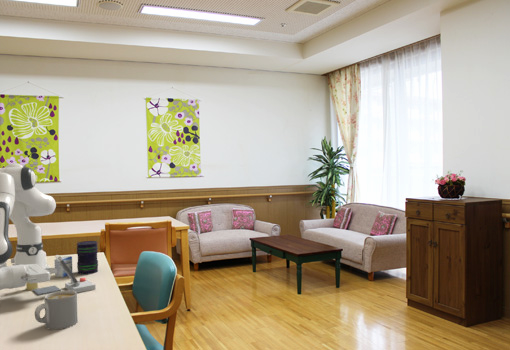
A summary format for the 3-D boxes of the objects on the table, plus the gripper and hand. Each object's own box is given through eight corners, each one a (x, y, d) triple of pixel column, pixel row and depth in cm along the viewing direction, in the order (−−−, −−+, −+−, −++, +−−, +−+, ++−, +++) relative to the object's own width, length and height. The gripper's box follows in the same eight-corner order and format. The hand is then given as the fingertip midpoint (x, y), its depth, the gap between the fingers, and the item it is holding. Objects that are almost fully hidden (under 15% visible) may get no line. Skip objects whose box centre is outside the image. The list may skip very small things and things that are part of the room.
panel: (65, 287, 193) (64, 280, 193) (85, 283, 199) (85, 276, 199) (74, 293, 184) (73, 285, 184) (95, 289, 190) (95, 281, 190)
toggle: (73, 284, 191) (54, 256, 186) (76, 282, 192) (57, 254, 187) (77, 286, 187) (57, 258, 182) (80, 284, 188) (60, 255, 183)
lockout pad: (32, 290, 189) (32, 289, 189) (54, 286, 195) (54, 285, 195) (38, 295, 182) (38, 293, 182) (61, 291, 188) (61, 289, 188)
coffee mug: (73, 316, 155) (72, 288, 155) (81, 324, 147) (80, 295, 147) (31, 325, 147) (30, 296, 147) (37, 334, 139) (36, 303, 139)
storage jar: (95, 268, 228) (95, 240, 228) (100, 272, 220) (99, 242, 220) (75, 271, 223) (74, 242, 222) (79, 275, 214) (78, 245, 214)
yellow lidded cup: (24, 288, 192) (23, 266, 192) (36, 286, 195) (36, 264, 195) (27, 291, 188) (26, 268, 188) (39, 289, 192) (39, 266, 191)
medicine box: (62, 277, 211) (62, 259, 211) (54, 277, 212) (54, 259, 212) (72, 273, 219) (72, 256, 219) (64, 273, 220) (64, 255, 220)
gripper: (25, 272, 167) (63, 266, 176) (13, 263, 183) (48, 258, 192) (25, 289, 167) (63, 282, 176) (13, 278, 183) (49, 273, 192)
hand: (55, 270), depth 184 cm, fingers closed
